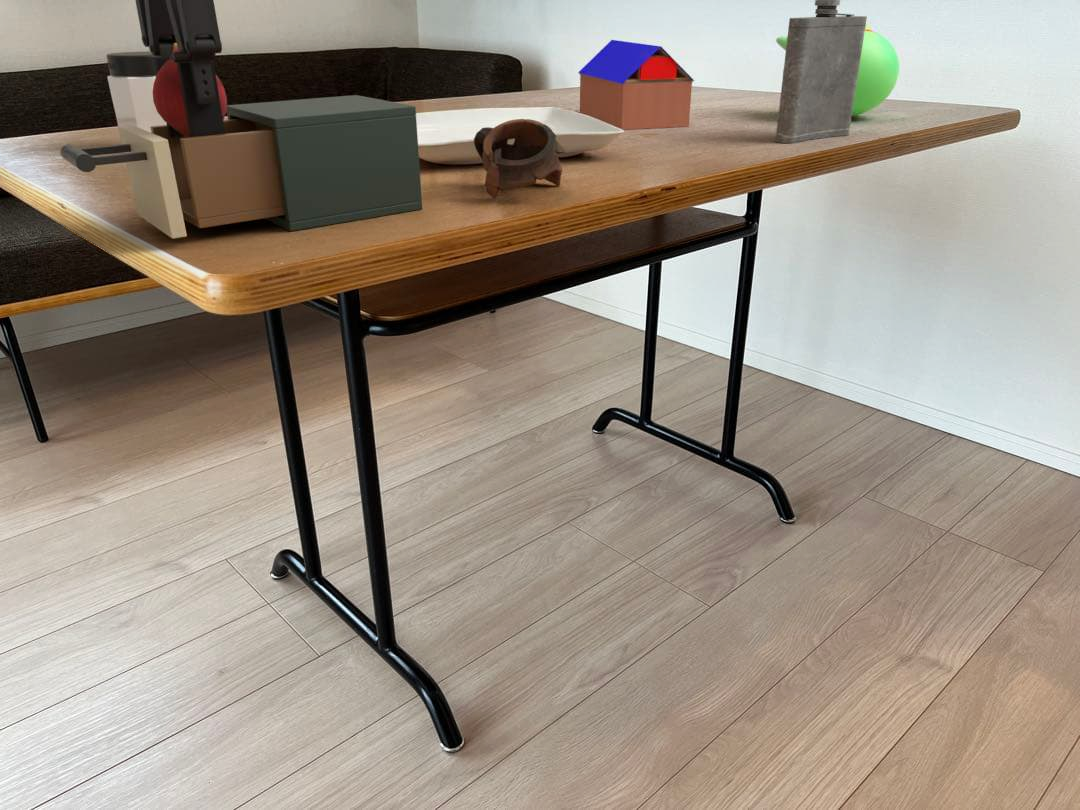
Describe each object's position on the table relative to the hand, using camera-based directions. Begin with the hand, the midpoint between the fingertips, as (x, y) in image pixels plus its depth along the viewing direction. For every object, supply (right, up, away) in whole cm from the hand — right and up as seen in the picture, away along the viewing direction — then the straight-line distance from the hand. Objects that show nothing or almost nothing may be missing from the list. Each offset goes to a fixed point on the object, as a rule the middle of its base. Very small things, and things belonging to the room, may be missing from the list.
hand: (197, 139), depth 72 cm
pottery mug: (+27, 0, +17) cm, 32 cm away
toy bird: (+79, +25, +67) cm, 106 cm away
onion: (0, 0, 0) cm, 0 cm away
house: (+45, +24, +65) cm, 83 cm away
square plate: (+24, +11, +40) cm, 48 cm away
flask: (+69, +15, +48) cm, 85 cm away
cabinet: (+9, -4, +10) cm, 14 cm away
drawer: (-1, -7, +2) cm, 7 cm away
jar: (-23, +12, +43) cm, 50 cm away
